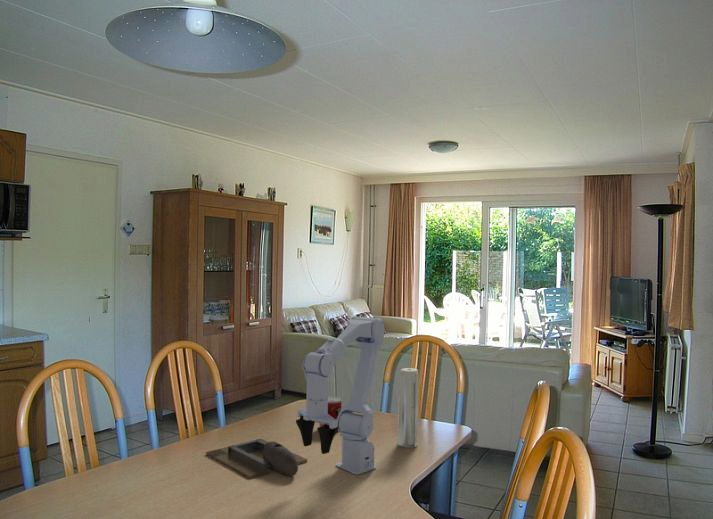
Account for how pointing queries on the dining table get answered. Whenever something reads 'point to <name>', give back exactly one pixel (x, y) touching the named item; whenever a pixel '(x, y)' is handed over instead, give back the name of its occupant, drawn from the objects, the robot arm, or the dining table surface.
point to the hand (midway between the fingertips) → (316, 449)
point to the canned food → (334, 407)
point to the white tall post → (408, 408)
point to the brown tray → (246, 458)
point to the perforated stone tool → (280, 458)
